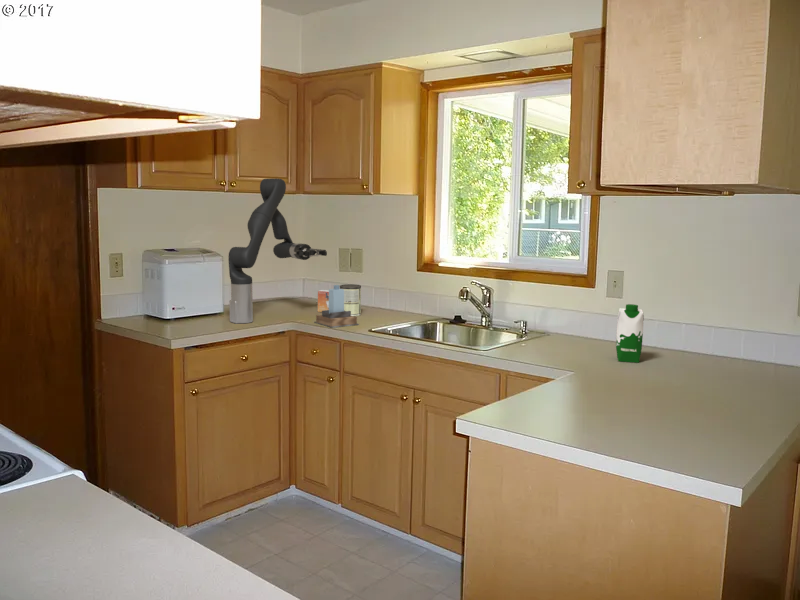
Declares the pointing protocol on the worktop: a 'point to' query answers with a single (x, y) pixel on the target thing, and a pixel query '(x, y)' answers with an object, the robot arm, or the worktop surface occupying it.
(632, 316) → the milk carton
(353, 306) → the coffee can
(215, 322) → the worktop surface
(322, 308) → the small box
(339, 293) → the blue rectangular bottle
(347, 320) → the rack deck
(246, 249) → the robot arm
